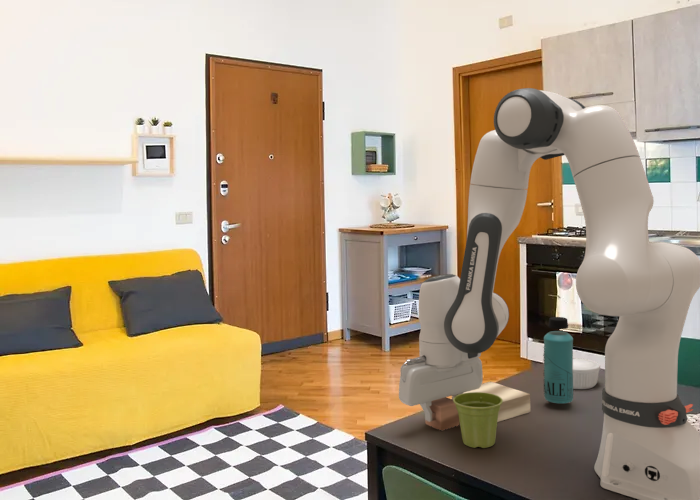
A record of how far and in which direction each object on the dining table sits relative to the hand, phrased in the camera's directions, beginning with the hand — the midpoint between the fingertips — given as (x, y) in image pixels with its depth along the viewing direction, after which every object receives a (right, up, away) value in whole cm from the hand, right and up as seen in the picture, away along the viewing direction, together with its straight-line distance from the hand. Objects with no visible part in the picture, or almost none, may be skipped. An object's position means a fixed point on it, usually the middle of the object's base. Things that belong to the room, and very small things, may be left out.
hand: (442, 417), depth 136 cm
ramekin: (+37, +2, +25) cm, 44 cm away
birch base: (+12, -1, +8) cm, 14 cm away
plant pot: (+6, -3, -10) cm, 12 cm away
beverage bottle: (+27, 0, +9) cm, 29 cm away
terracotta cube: (0, -2, 0) cm, 2 cm away
